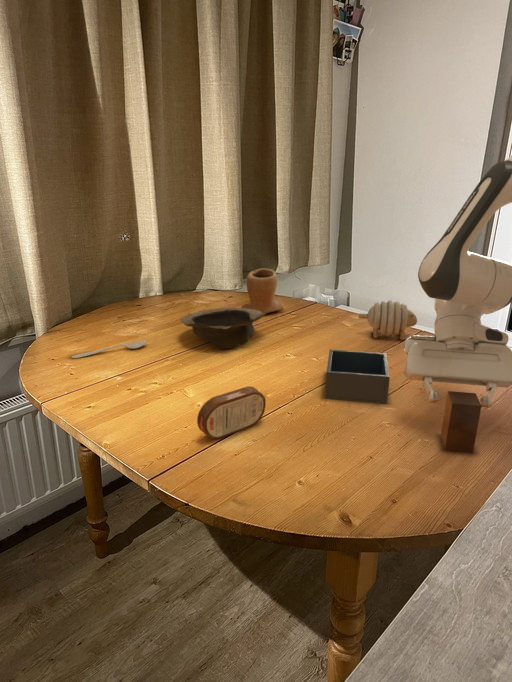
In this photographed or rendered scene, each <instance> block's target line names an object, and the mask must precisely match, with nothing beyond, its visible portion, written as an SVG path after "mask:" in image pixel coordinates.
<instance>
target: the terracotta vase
mask: <svg viewBox="0 0 512 682" xmlns="http://www.w3.org/2000/svg"><path fill="white" fill-rule="evenodd" d="M278 280H279V279H278V276H277V272H276V271H275V270H274V269H272V268H265V267H264V268H262V267H261V268H256V269H254V270H251V271H250V272H249V273H248V274H247V275H246V290H247V294H248V297H249V302H248V303H244V304H242V305H241V307H240V308H245V309H253V310H258V311H261V313H262V312H267V313H266V314H269V313H273V312H278V311H283V310H284V309H285V307H284V306H285V305H284V304H283V303H282V300H281V298H279V297H275V294H276V291H277V287H278V283H279V282H278Z"/></svg>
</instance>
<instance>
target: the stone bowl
mask: <svg viewBox="0 0 512 682" xmlns="http://www.w3.org/2000/svg"><path fill="white" fill-rule="evenodd" d="M267 314H268V313H267V312H262V313H261V311H258V310H253V309H245V308H241V307H222V308H220V307H219V308H213V309H204V310H199V311H197V312H192V313H188V314H186V315H184V316H182V317H180V323H182V324H183V325H184V326H186V327H191V328H192V332H193V333H194V335H195V336H197V337H199V338H200V339H203V340H204V341H206V342H210V343H213V344H214V347H215V348H216V349H217V350H223V349H226V350H228V349H233V348H236V347H238V346H243V345H245V344H247V343H248V341H249V338H251V337H253V335H254V334H255V327H254V325H253V324H254V323H255V322H257V321H259V320H260V319H262V318H263V317H264V316H265V315H267Z"/></svg>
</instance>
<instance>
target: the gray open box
mask: <svg viewBox="0 0 512 682" xmlns="http://www.w3.org/2000/svg"><path fill="white" fill-rule="evenodd" d="M389 386H390V370H389V363H388V356H387V353H386V352H373V351H359V350H344V349H329V351H328V358H327V366H326V374H325V392H324V399H325V400H326V399H327V400H340V401H350V402H363V403H373V404H374V403H375V404H384V405H385V404H388V398H389V397H388V395H389Z"/></svg>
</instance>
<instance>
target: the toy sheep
mask: <svg viewBox="0 0 512 682" xmlns="http://www.w3.org/2000/svg"><path fill="white" fill-rule="evenodd" d="M358 318H359V319H363V320H364V319H367V322H368V325H369V326H370V327H371V328H372V333H373V336H372V337H373V338H374V339H378V337H379V334H380V335H384V336H385V335H386V336H387V337H390V336H392V335H394V336H397V335H398V336H399V340H401V341H403V340H405V334H406V333H405V332H406V329H407V328H411V327H414V326H416V325H417V323H418V317H417V316H416V314H415V313H414V312H413V311H412V310H410V309H408V306H407V304H406V303H400V301H394V300H392V299H391V300H389V299H388V300H387V301H386V300H382V301H381V302H375V303H374V304H373V306H371V307H370V308H369V310H368V311H367V313H359V314H358Z"/></svg>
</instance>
